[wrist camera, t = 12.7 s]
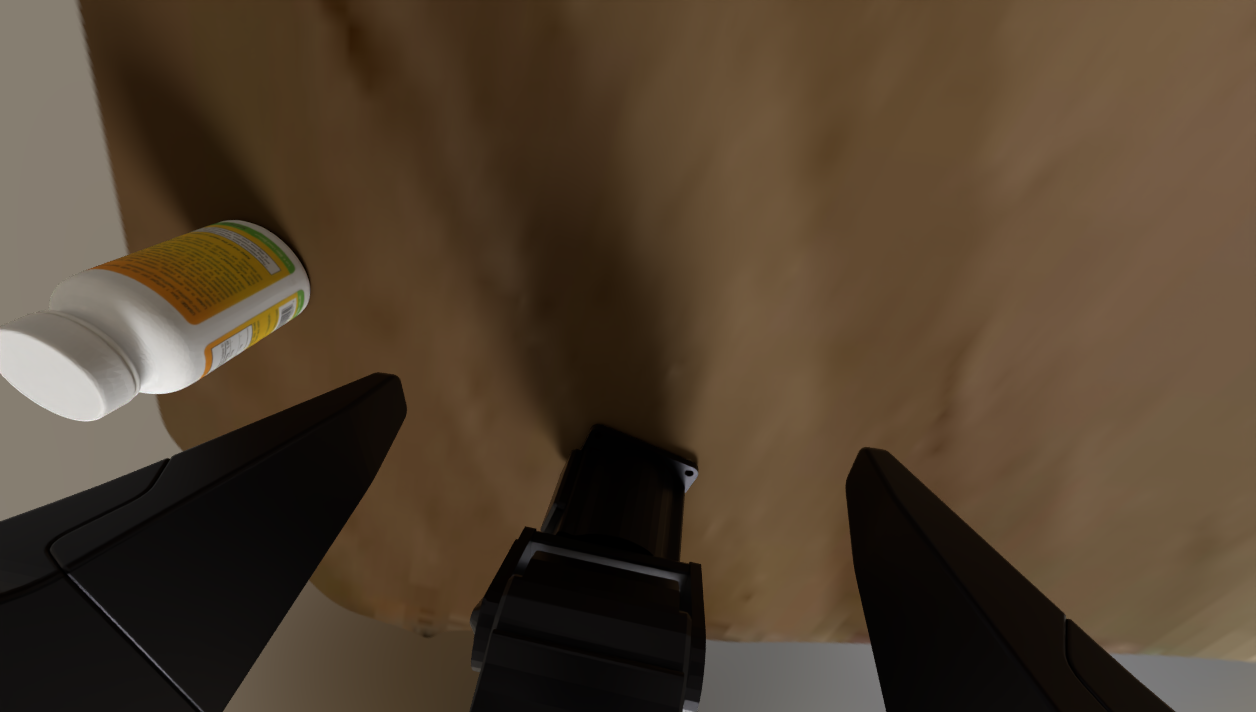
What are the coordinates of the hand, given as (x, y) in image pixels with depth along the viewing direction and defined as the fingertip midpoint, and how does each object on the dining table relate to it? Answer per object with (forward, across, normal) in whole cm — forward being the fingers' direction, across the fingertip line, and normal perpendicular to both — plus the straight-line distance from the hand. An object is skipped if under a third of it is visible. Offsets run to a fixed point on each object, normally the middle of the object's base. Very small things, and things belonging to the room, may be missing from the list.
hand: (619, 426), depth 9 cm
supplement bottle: (+13, +20, +5) cm, 25 cm away
